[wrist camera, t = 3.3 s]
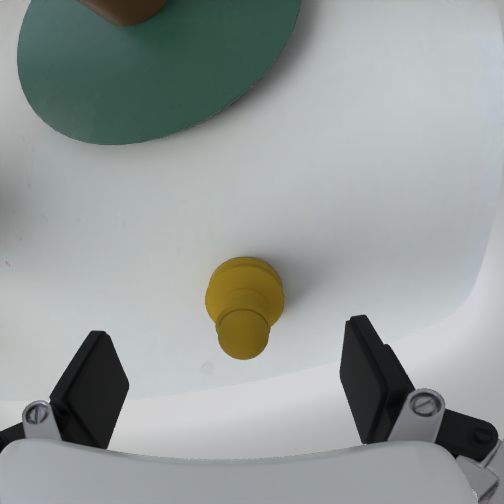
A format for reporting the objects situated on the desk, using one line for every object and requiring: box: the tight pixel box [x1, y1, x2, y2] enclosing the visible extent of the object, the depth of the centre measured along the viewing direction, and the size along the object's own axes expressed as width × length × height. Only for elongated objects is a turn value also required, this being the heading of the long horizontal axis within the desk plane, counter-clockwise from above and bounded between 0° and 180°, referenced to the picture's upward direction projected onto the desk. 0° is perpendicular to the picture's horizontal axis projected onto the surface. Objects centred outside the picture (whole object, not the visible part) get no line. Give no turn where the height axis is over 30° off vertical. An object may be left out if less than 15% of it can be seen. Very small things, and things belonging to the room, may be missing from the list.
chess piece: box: [205, 257, 284, 360], centre depth 14 cm, size 4×4×5 cm
